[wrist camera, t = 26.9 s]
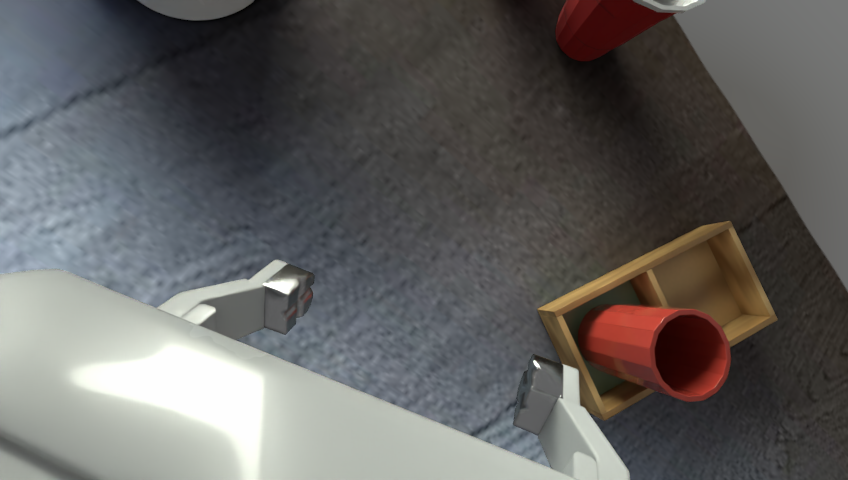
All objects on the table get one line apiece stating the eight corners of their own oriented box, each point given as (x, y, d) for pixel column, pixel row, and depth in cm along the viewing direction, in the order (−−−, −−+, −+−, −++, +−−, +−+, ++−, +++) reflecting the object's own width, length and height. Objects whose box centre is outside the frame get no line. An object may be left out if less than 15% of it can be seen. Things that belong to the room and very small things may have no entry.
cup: (566, 321, 40) (635, 333, 30) (622, 292, 41) (706, 294, 31) (595, 385, 39) (675, 418, 29) (651, 353, 40) (745, 375, 31)
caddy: (536, 309, 40) (553, 311, 36) (701, 225, 44) (730, 220, 40) (583, 409, 40) (604, 421, 36) (744, 317, 43) (778, 319, 40)
